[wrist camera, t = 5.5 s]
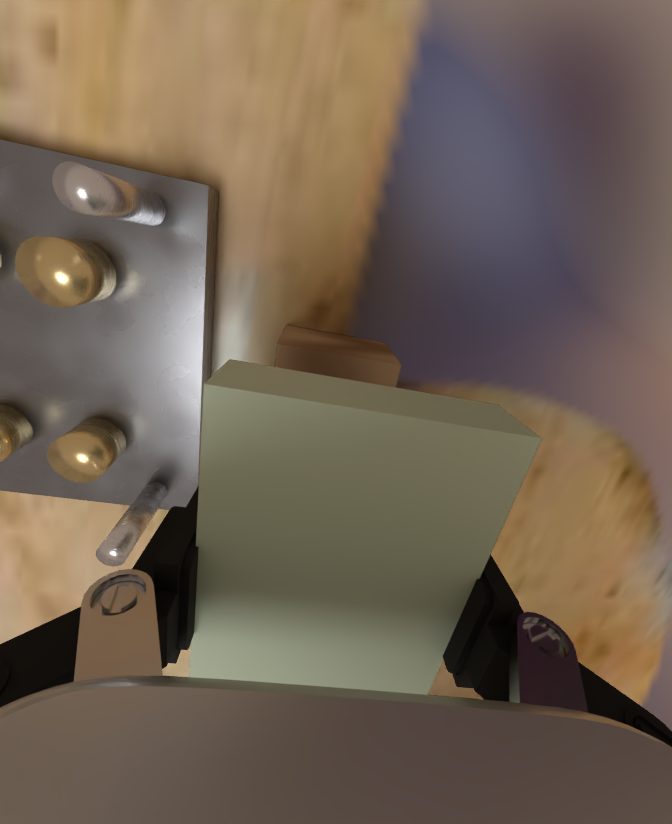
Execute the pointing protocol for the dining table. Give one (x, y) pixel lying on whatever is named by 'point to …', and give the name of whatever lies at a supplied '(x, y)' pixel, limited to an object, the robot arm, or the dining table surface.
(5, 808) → the robot arm
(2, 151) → the chassis
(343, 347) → the block
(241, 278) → the dining table surface
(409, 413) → the board
